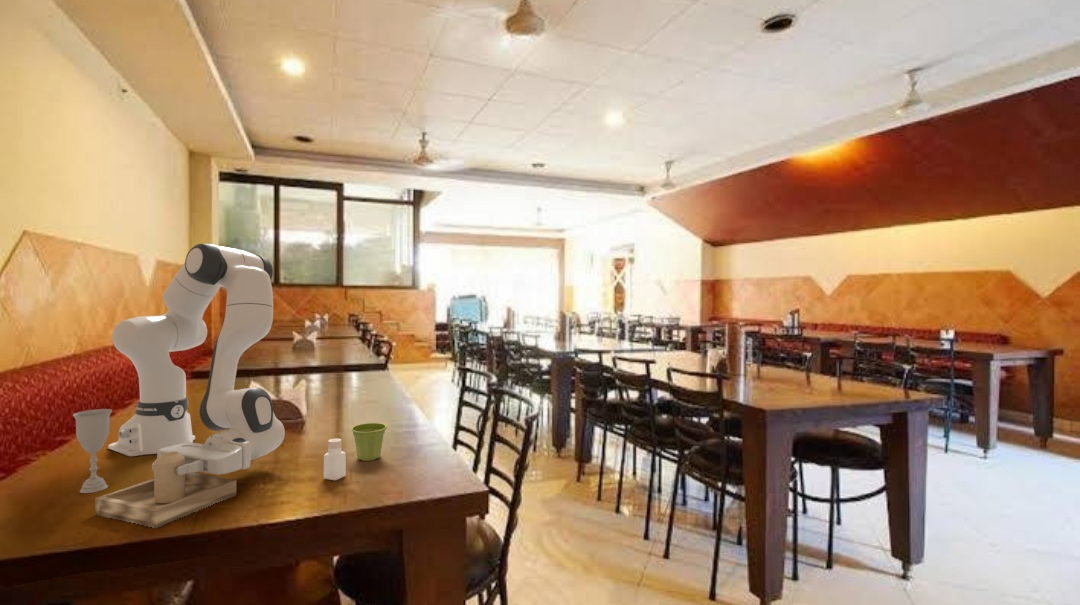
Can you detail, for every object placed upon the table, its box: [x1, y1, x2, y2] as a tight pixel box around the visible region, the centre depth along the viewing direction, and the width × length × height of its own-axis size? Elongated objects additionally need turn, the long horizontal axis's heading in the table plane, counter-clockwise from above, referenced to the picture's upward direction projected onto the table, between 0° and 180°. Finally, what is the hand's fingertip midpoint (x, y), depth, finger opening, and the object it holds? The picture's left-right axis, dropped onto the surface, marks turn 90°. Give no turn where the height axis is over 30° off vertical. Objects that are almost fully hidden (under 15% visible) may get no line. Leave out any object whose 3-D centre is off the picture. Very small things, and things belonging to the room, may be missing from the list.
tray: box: [94, 472, 237, 530], centre depth 115 cm, size 18×18×4 cm
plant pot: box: [350, 422, 388, 462], centre depth 147 cm, size 9×9×9 cm
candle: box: [153, 451, 185, 503], centre depth 114 cm, size 6×6×10 cm
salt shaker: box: [323, 438, 347, 481], centre depth 132 cm, size 4×4×10 cm
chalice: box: [72, 408, 113, 494], centre depth 123 cm, size 7×7×18 cm
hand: (165, 469), depth 114 cm, fingers closed on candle, 5 cm apart
